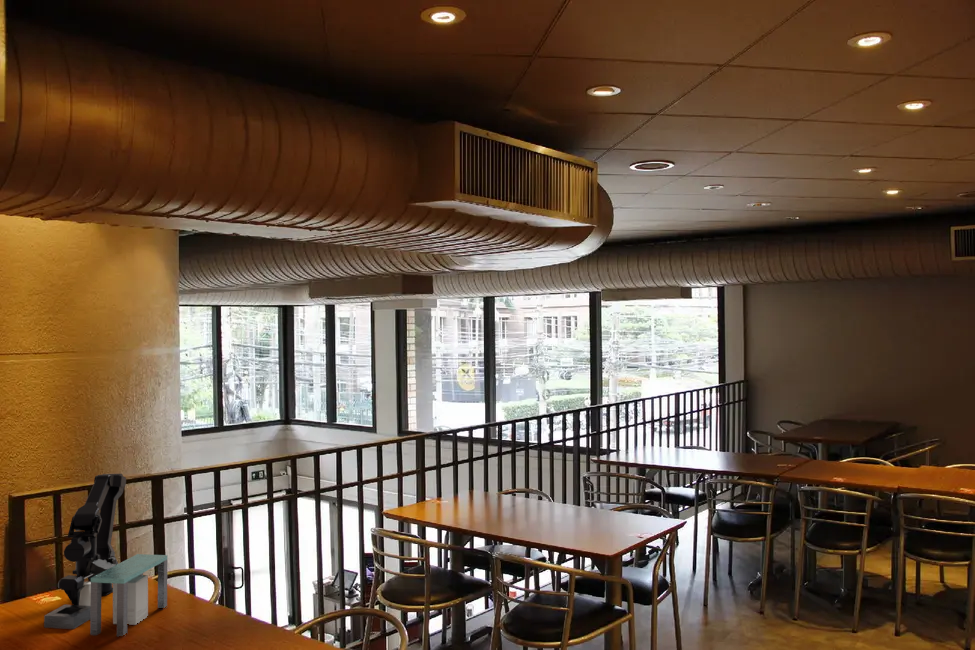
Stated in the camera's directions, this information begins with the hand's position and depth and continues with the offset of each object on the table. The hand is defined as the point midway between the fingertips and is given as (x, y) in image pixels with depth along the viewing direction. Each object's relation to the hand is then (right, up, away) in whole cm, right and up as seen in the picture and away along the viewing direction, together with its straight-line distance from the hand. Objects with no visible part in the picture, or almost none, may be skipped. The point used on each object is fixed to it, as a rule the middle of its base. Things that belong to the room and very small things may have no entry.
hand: (85, 602), depth 245 cm
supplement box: (+18, -2, -9) cm, 20 cm away
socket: (+1, -2, -11) cm, 11 cm away
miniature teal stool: (+18, -2, -9) cm, 20 cm away
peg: (0, -2, 0) cm, 2 cm away
